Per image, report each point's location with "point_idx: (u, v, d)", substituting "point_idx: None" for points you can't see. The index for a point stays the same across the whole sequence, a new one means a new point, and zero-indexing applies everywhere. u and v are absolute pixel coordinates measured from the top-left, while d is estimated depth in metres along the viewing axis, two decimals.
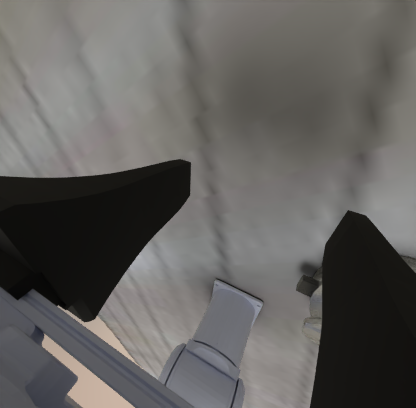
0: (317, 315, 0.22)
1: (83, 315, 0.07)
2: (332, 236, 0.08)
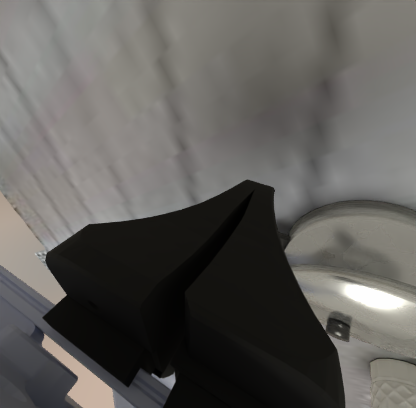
0: None
1: (164, 373, 0.06)
2: None
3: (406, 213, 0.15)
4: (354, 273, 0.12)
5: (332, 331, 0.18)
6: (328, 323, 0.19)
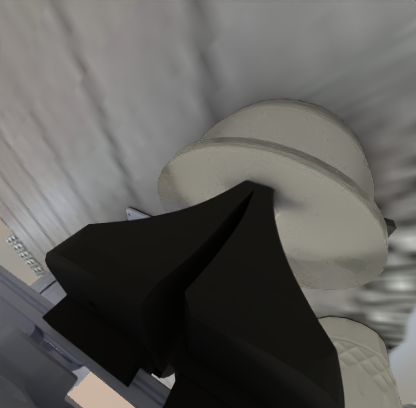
0: None
1: (163, 373, 0.06)
2: None
3: (300, 103, 0.12)
4: (201, 143, 0.10)
5: None
6: None
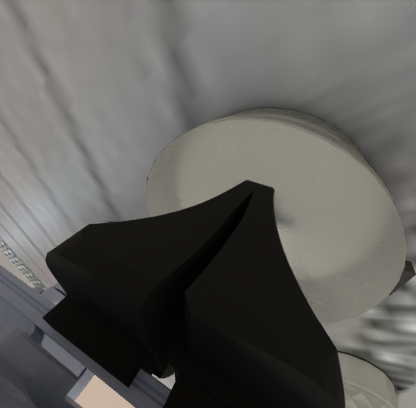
0: None
1: (164, 373, 0.06)
2: None
3: (292, 114, 0.10)
4: (205, 123, 0.09)
5: None
6: None
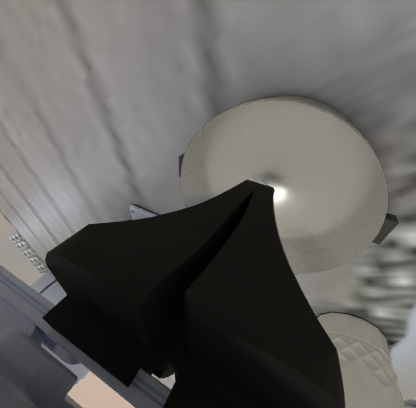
0: None
1: (164, 372, 0.06)
2: None
3: (303, 99, 0.13)
4: (237, 106, 0.12)
5: None
6: None
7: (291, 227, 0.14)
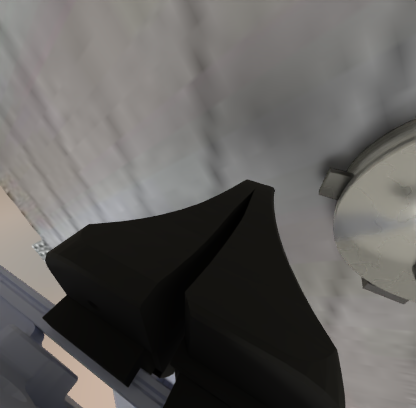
0: None
1: (164, 372, 0.06)
2: None
3: None
4: None
5: None
6: None
7: None
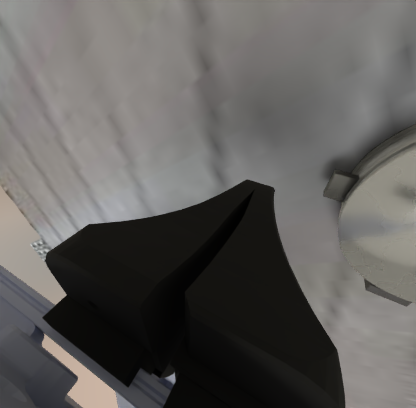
0: None
1: (164, 372, 0.06)
2: None
3: None
4: None
5: None
6: None
7: None
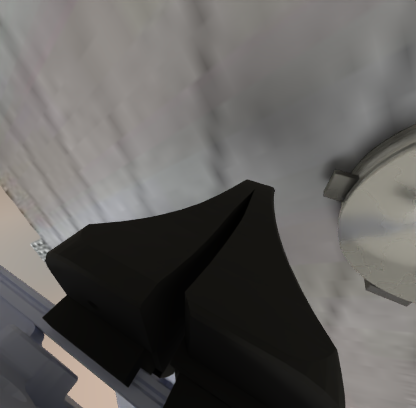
0: None
1: (164, 372, 0.06)
2: None
3: None
4: None
5: None
6: None
7: None
